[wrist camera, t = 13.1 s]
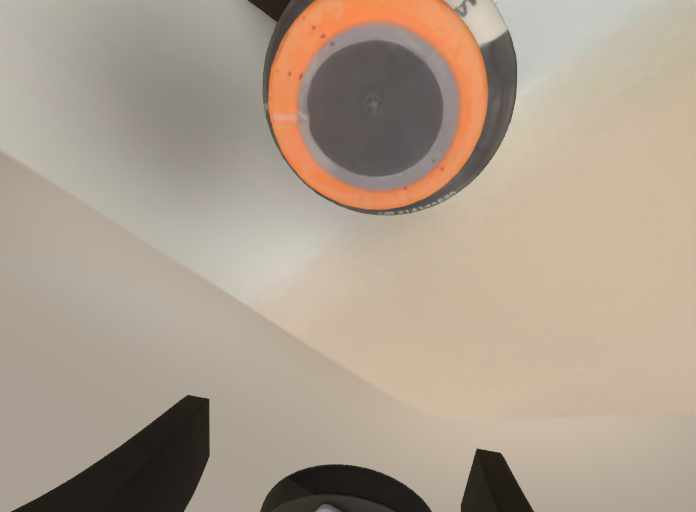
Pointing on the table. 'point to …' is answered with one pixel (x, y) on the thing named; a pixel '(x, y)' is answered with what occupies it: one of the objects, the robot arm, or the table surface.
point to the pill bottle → (389, 97)
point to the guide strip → (271, 7)
